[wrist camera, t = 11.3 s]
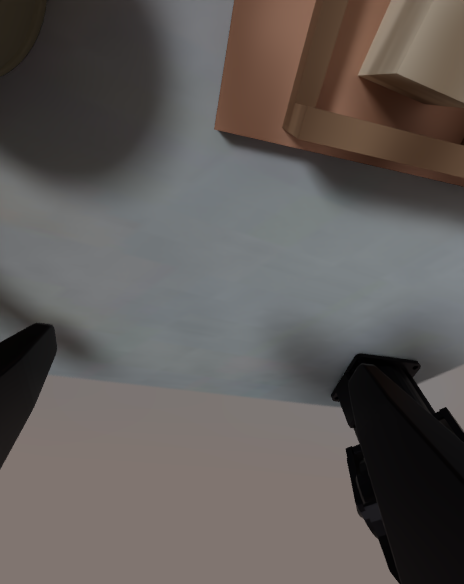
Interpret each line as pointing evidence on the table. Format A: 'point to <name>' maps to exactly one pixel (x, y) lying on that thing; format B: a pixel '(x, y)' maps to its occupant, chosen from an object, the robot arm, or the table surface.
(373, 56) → the block
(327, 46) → the cradle
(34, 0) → the can
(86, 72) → the table surface
